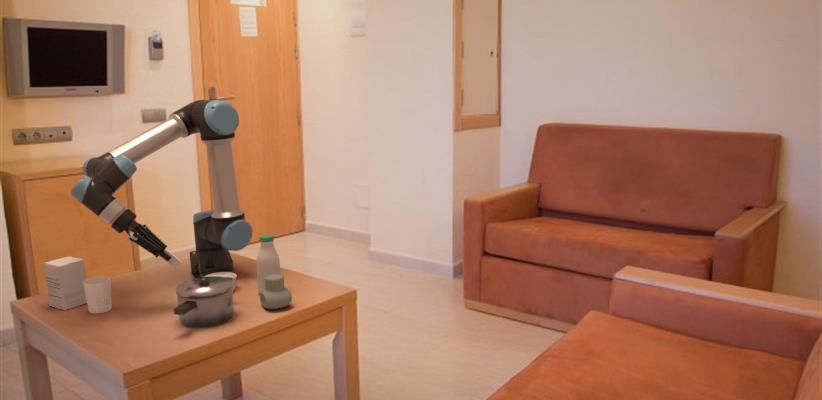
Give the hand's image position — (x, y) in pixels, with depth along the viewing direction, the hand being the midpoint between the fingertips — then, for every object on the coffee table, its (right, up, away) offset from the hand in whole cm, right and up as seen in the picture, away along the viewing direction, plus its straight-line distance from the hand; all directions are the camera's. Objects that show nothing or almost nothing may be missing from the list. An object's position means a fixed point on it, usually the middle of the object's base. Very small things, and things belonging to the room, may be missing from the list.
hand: (178, 265), depth 209 cm
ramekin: (+9, -11, +17) cm, 22 cm away
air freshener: (+31, -14, +1) cm, 34 cm away
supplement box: (-38, -14, +7) cm, 41 cm away
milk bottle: (+26, -11, +14) cm, 32 cm away
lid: (+10, -6, -7) cm, 13 cm away
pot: (+12, -15, -8) cm, 21 cm away
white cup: (-25, -15, +1) cm, 29 cm away
